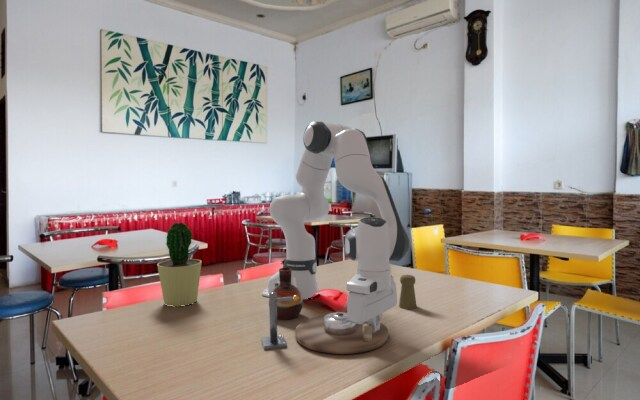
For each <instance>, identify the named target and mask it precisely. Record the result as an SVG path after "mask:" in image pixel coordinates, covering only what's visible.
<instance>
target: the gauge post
mask: <svg viewBox="0 0 640 400" xmlns="http://www.w3.org/2000/svg"><path fill="white" fill-rule="evenodd" d="M298 299H299V297H298V296H297V295H294V296H293V297H282V298H277V292H270V293H269V297H268V308H269V309H268V310H269V336H264V337H260V341H261V345H262V346H263V350H264V351H266V349H267V350H273V349H274V348H275V349H282V348H287V347H288V345H287V344H288V343H287V341H286V338H285V337H284V335H278V319H277V302H280V301H291V300H294V301H298ZM275 349H274V350H275Z"/></svg>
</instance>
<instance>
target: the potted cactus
mask: <svg viewBox="0 0 640 400" xmlns="http://www.w3.org/2000/svg"><path fill="white" fill-rule="evenodd" d="M192 233H194V232H193V230H192V229H190V227H189V226H187V224H186V222H176V223H173V224H172V225H170V228H168V229H167V231H166V243H164V245H166V247H167V250H168V255H169V258H170V259H168V260H165V261H164V260H163V261H161V262H157V264H156V265H157V272H158V277H159V282H160V288H161V294H162V299H163V303H165V304H167V305H173V306H181V305H188V304H192V303H194V302H196V301H198V296H199V295H198V293H199V286H200V278H201V270H202V260H201V259H196V258H195V259H194V258H190V257H189V254H190V252H191V251H189V249H192V247H191V244H194V243H195V242H193V241H192V240H193V236H192V235H193V234H192ZM196 303H197V302H196ZM165 304H164V305H165ZM194 304H195V303H194ZM192 305H193V304H192Z"/></svg>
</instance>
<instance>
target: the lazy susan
mask: <svg viewBox="0 0 640 400" xmlns="http://www.w3.org/2000/svg"><path fill="white" fill-rule="evenodd" d="M324 316H325V314H324V315H319V316H314V317H311V318H308V319H305V320H303V321H302V322H300V323H299V324H298V325H297V326H296V327H295V331H294V332H295V333H294V334H295V337H294V338H295V339H296V341H297V342H298V343H299V344H300V345H301V346H302V347H304V348H307V349H309V350H311V351H315V352H320V353H324V354H325V353H326V354H327V353H328V354H335V355H346V354H347V355H349V354H359V353H364V352H365V353H366V352H369V351H372V350H375V349H378V348H380V347H383V345H384V344H386V343H387V341H388V339H389V330H388V328H387V326H386V325H385V324H384V323H382V321H381V322H380V330H378V331H376V332H375V333H373V332H372V325H371V324H368V322H367V321H366V322H365V323H363V324H356V332H355V333H353V334H350V335H345V336H336V335H330V334H328V333H326V332H325V331H324Z"/></svg>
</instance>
